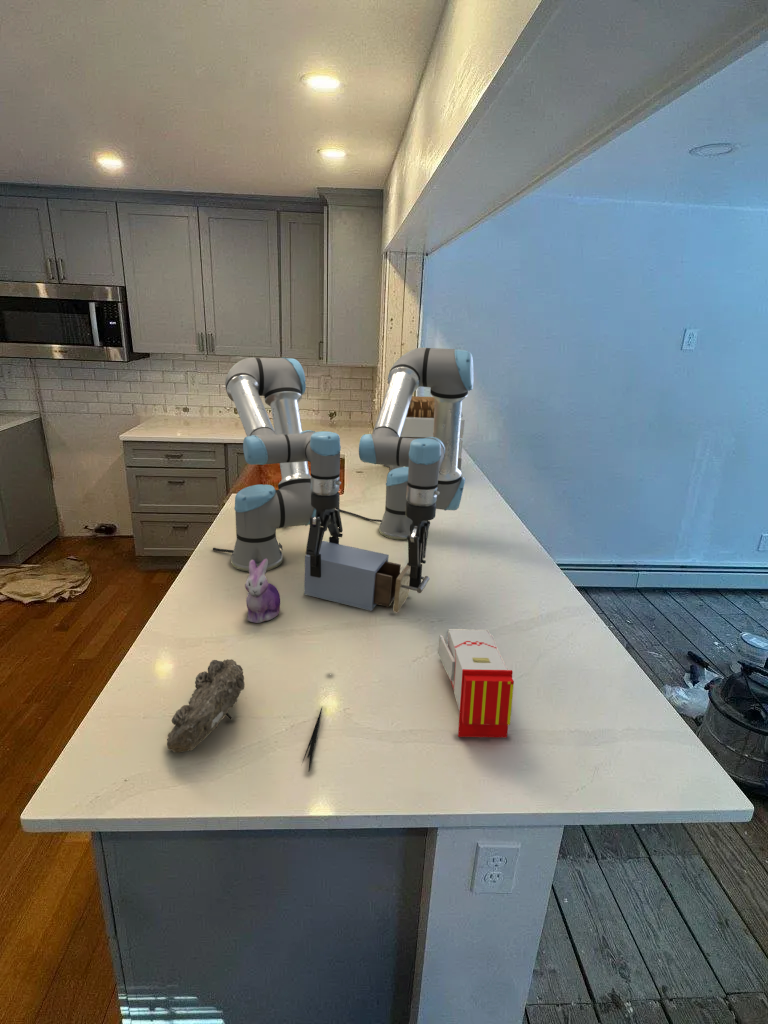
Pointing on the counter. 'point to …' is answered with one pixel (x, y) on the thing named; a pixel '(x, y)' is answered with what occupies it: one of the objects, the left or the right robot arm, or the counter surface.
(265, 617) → the figurine
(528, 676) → the counter surface
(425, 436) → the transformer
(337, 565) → the cabinet
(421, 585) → the drawer
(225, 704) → the fossil
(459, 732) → the toy
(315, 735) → the feather
